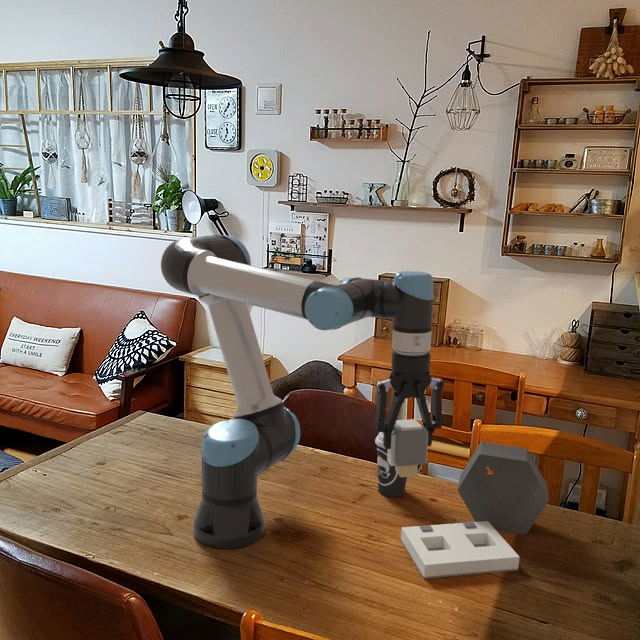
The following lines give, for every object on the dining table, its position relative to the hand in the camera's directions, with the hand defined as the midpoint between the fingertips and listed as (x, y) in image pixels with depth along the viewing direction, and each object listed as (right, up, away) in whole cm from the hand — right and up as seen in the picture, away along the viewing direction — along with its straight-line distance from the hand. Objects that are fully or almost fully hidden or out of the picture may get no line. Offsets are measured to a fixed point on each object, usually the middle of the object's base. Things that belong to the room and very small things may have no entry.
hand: (406, 461), depth 130 cm
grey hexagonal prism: (+23, -18, +17) cm, 34 cm away
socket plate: (+11, -20, +4) cm, 23 cm away
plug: (0, -2, 0) cm, 2 cm away
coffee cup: (0, -14, +30) cm, 33 cm away
